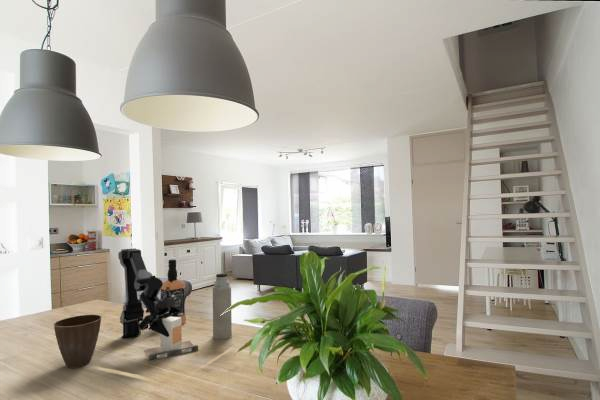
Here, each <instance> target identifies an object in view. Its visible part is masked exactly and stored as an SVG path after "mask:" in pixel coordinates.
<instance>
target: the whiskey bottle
mask: <svg viewBox="0 0 600 400" xmlns="http://www.w3.org/2000/svg"><path fill="white" fill-rule="evenodd" d="M162 283H163V285H162V287H161V289H160V299H163V300H165V299H167V298H168V297H169V296H171V295H175V297H176V298H177V302H175V303H176V304H175V305H172V306H170V309H171V308H172V307H174V306H176V305H181V306H182V308H183V310H182V311H181V312H180V313H179V315H178V316H177V317H180V318H182V325H184V324H186V323H187V319H186V318H187V317H186V314H185V313H186V312H185V307H186V306H185V305H186V304H185V288H186V283H185V282H183V281H181V279H178V269H177V259H175V258H172V259H169V260H168V270H167V280H165V281H164V282H162ZM170 309H169V310H167V311H168V312H169V311H170ZM164 316H165V315H164ZM164 319H165V318H164Z"/></svg>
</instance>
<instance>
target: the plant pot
mask: <svg viewBox="0 0 600 400" xmlns="http://www.w3.org/2000/svg"><path fill="white" fill-rule="evenodd" d="M101 322H102V315H99V314H85V315H76V316H71V317H65V318H63V319H61V320H57V321H56V322H54V324H53V328H54V333H55V338H56V342H57V346H58V349H59V351H60V354H61V356H62V359H63V362H64V364H65V366H66V367H67V368H68V369H77V368H81V367H84V366H86V365H88V364H90V363H91V360H92V358H93V355H94V352H95V349H96V346H97V342H98V339H99V334H100V329H101Z"/></svg>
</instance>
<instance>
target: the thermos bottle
mask: <svg viewBox="0 0 600 400" xmlns="http://www.w3.org/2000/svg"><path fill="white" fill-rule="evenodd" d="M215 277H216V278H215V281H213V282H214V284H213V287H212V337H213V339H214V340H226V339H232V338H233V337H232V336H233V333H232V332H233V331H232V326H233V325H232V324H233V323H232V309H231V310H230V311H228V312H226V313H224V314H223V315H221V314H222V313H223V312H224V311H225V310H226V309H227V308H229V307H230V306H231V307H232V286H231V285H230V283H231V282H230V281H229V280H228V273H217V274H216V275H215ZM220 315H221V316H220Z"/></svg>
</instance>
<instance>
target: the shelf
mask: <svg viewBox="0 0 600 400" xmlns="http://www.w3.org/2000/svg"><path fill="white" fill-rule="evenodd" d="M197 351H199V345H198V344H195V345H194V344H193V343H192V342H191V341H190V340H187V341H182V347H181V348H179V349H175V350H171V351H163V350H161V346H156V347H151V348H147V349H143V353H144V354H145V356H146V358H147V360H148V361H149V362H151V361H157V360H161V359H165V358H170V357H173V356H179V355H184V354H188V353H192V352H197Z"/></svg>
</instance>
